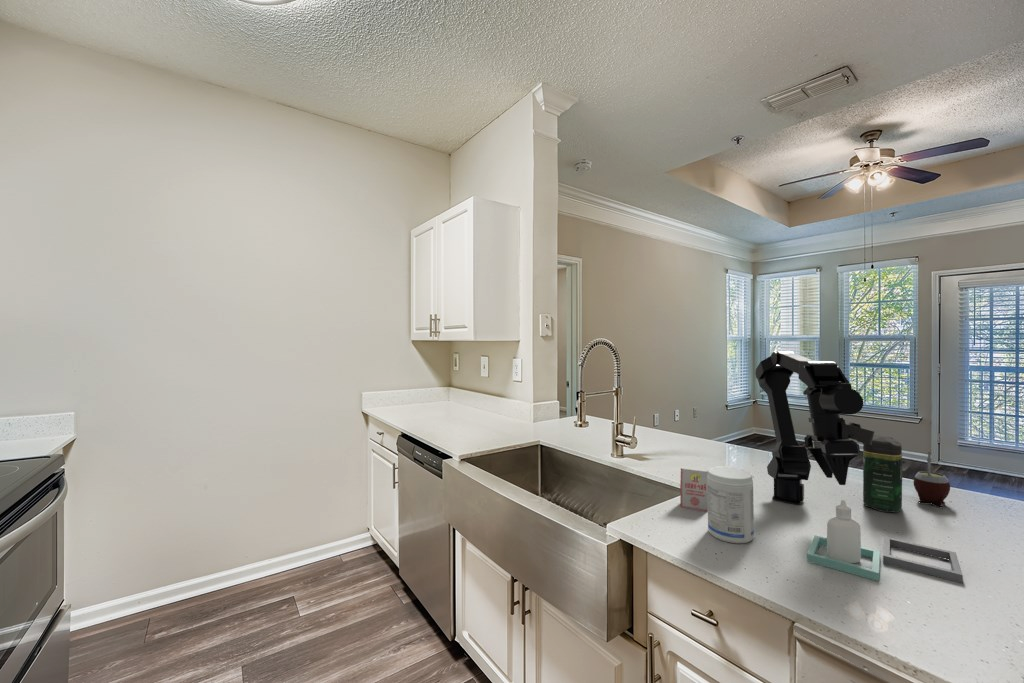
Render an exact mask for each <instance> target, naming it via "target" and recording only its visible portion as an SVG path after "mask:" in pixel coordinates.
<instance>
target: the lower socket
mask: <svg viewBox="0 0 1024 683" xmlns="http://www.w3.org/2000/svg"><path fill="white" fill-rule="evenodd" d="M820 546H823V547H826V548H827V537H824V536H821V535H816V534H814V535H813V538H812V540H811V544H810V546H809V548H808V551H807V553H806V555H807V558H806V559H807V561H806V562H808V563H812V564H815V565H820V566H822V567H825V568H830V569H834V570H837V571H840V572H844V573H849V574H852V575H854V576H858V577H862V578H865V579H869V580H872V581H876V582H879V581H880V566H881V564H880V563H881V551H880V550H878V549H874V548H869V547H866V546H862V545H861V555H862V556H861V557H865V556H866V557H867V558H869V557H870V558H871V559H872V564H871V568H869V567H865V566H861V565H858V564H856V563H847V562H843V561H839V560H836V559H832V558H829V557H828V556H824V555H820V554H817V553H818V550H819V547H820ZM866 557H865V558H866Z"/></svg>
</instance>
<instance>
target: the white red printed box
mask: <svg viewBox="0 0 1024 683" xmlns="http://www.w3.org/2000/svg"><path fill="white" fill-rule="evenodd" d="M707 475H708V470H699V469H688V468H680V482H679V483H680V486H679V487H680V488H679V491H680V494H679V496H680V499H679V500H680V508H684V509H690V510H697V511H702V512H708V503H707Z"/></svg>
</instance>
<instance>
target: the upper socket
mask: <svg viewBox="0 0 1024 683" xmlns="http://www.w3.org/2000/svg"><path fill="white" fill-rule="evenodd" d="M882 545H883V548H882V549H883V550H882V563H883V564H885V565H890V566H893V567H899V568H901V569H906V570H910V571H912V572H913V571H914V572H918V573H921V574H924V573H925V575H928V574H929V576H932V575H933V577H936V576H937V578H940V579H944V578H945V580H948V579H949V580H948V581H951V582H957V583H959V584H963V582H964V581H963V578H964V576H963V572H962V569H961V565H960V562H959V559H958V555H957V552H955V551H951V550H946V549H942V548H937V547H934V546H929V545H924V544H920V543H915V542H911V541H908V540H907V541H906V540H902V539H898V538H892V537H889V536H884V535H883V544H882ZM891 546H893V548H895V547H897V549H900V548H901V550H904V549H906V550H905V551H908V550H910V551H909V552H913V551H915V552H914V553H917V552H919V553H918V554H921V553H923V554H922V555H925V554H927V556H930V555H932V556H931V557H934V556H936V557H935V558H938V557H941V558H940V559H943V558H946V559H945V560H947V559H949V560H950V561H949V560H948V561H949V564H950V567H951V568H950V569H947V568H944V567H939V566H935V565H931V564H927V563H924V562H923V563H922V562H918V561H915V560H911V559H907V558H903V557H898V556H894V555H891Z"/></svg>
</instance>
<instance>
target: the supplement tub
mask: <svg viewBox="0 0 1024 683" xmlns="http://www.w3.org/2000/svg"><path fill="white" fill-rule="evenodd" d="M707 471H708V475H707V503H708V511H707V529H708V532H709V534H710V535H711V536H713V537H715V538H716V539H717V540H720V541H723V542H726V543H730V544H731V543H733V544H747V543H749V542H751V541H752V540H753V539H754V537H755V520H754V519H755V518H754V517H755V514H754V513H755V512H754V507H755V506H754V480H753V474H752V473H751V472H750V471H748V470H745V469H743V468H740V467H734V466H725V465H721V466H720V465H719V466H711V467H709V468H708V469H707Z"/></svg>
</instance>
